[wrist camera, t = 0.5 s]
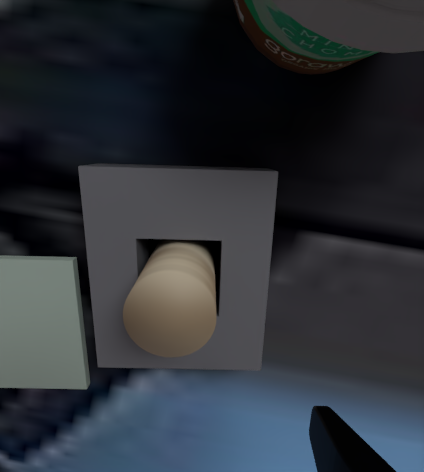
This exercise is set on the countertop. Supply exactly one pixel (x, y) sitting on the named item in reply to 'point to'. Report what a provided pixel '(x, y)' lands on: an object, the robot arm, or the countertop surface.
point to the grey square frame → (180, 228)
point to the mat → (41, 324)
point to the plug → (173, 299)
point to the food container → (330, 30)
